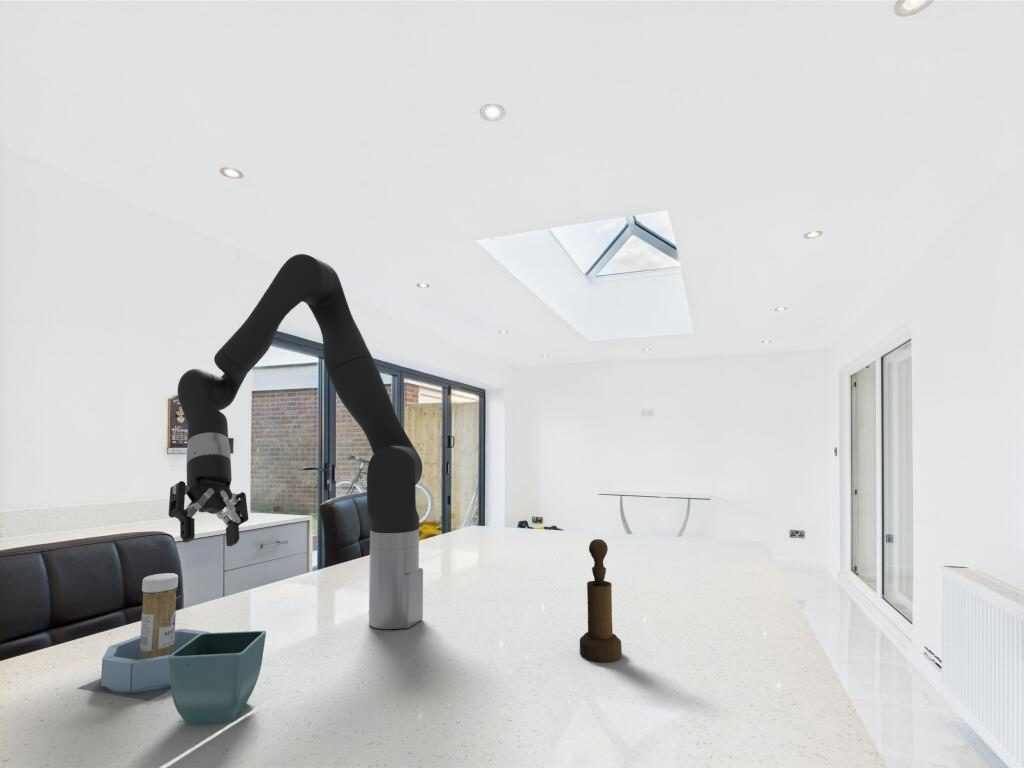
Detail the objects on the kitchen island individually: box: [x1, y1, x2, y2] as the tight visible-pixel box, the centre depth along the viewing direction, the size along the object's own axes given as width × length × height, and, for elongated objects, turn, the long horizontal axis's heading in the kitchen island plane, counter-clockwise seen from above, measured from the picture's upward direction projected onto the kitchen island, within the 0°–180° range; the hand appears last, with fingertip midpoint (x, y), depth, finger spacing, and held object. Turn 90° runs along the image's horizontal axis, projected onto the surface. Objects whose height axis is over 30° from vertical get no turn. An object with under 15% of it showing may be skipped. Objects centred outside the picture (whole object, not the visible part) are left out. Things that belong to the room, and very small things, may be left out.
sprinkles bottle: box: [140, 572, 179, 659], centre depth 85 cm, size 5×5×13 cm
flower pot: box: [168, 630, 267, 726], centre depth 72 cm, size 9×9×9 cm
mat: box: [77, 678, 171, 701], centre depth 84 cm, size 13×14×1 cm
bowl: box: [100, 628, 211, 693], centre depth 84 cm, size 13×13×4 cm
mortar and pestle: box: [579, 538, 623, 663], centre depth 92 cm, size 7×6×18 cm
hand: (211, 542), depth 102 cm, fingers open, 8 cm apart
